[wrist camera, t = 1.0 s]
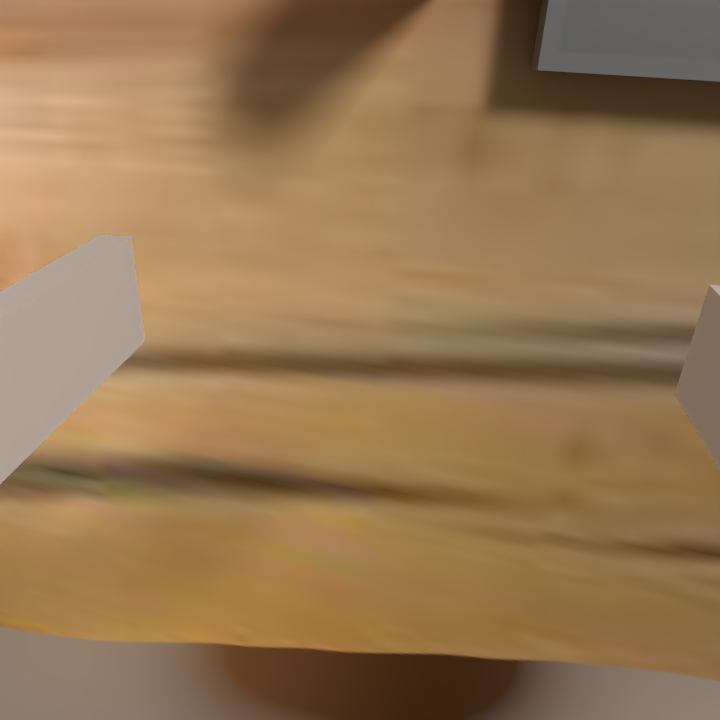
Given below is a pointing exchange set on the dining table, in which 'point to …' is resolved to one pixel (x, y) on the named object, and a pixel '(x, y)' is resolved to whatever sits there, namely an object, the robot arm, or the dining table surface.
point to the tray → (630, 38)
